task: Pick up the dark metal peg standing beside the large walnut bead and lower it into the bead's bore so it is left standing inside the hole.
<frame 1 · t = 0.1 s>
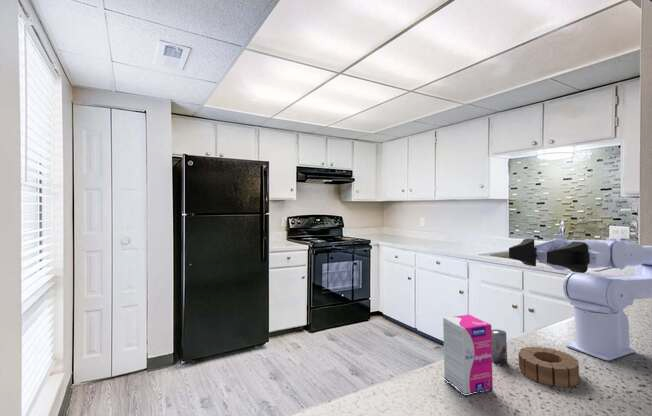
hand: (528, 255, 62), 22 cm above the countertop, tool horizontal, fingers open, 7 cm apart
supplement box: (468, 386, 57), on the countertop
metal peg: (499, 362, 65), on the countertop
walnut bead: (548, 373, 60), on the countertop
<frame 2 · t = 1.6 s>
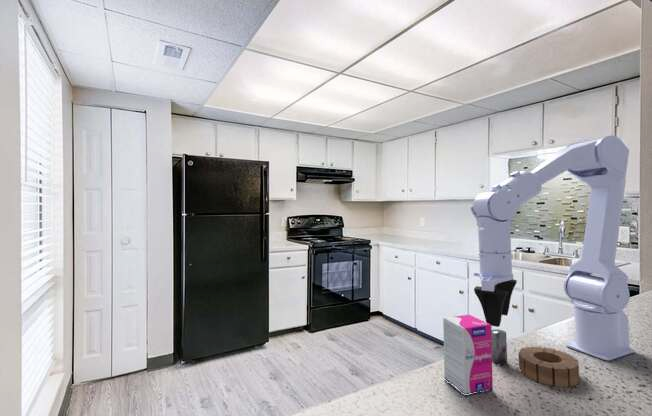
hand: (497, 319, 65), 8 cm above the countertop, tool pointing down, fingers open, 7 cm apart
nothing on the countertop moved.
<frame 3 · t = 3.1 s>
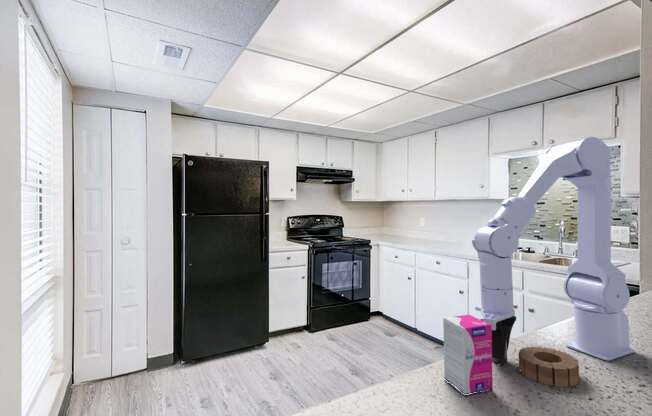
hand: (499, 354, 65), 1 cm above the countertop, tool pointing down, fingers closed on metal peg, 3 cm apart
metal peg: (499, 362, 65), on the countertop, touching gripper
everything else where it was.
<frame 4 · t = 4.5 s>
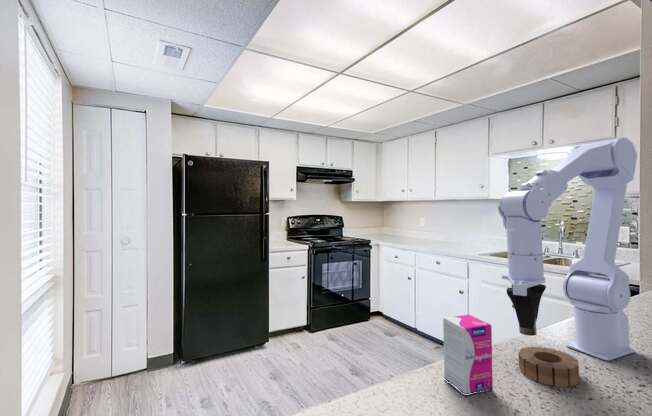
hand: (528, 325, 62), 8 cm above the countertop, tool pointing down, fingers closed on metal peg, 3 cm apart
metal peg: (527, 332, 62), point 7 cm above the countertop, touching gripper
everything else where it was.
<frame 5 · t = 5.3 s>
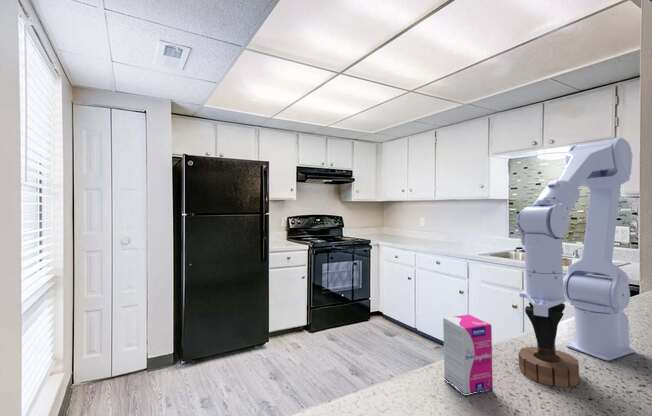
hand: (546, 344, 60), 5 cm above the countertop, tool pointing down, fingers closed on metal peg, 3 cm apart
metal peg: (546, 353, 60), point 4 cm above the countertop, touching gripper
everything else where it was.
when the fingers open (4 cm above the countertop, at t = 5.9 s): metal peg drops 2 cm, resting in walnut bead.
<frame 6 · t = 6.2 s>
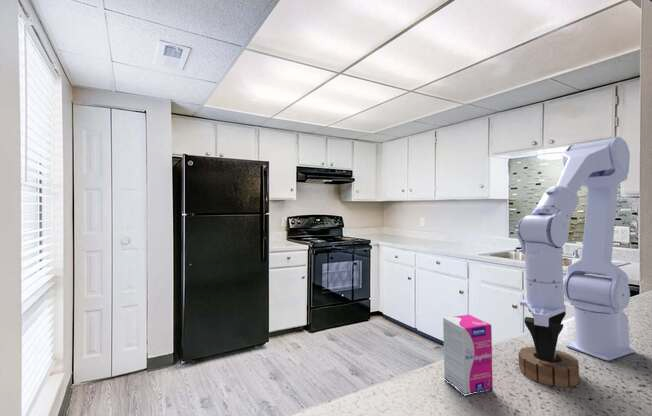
hand: (547, 353, 60), 4 cm above the countertop, tool pointing down, fingers open, 5 cm apart
metal peg: (547, 373, 60), resting in walnut bead
everything else where it was.
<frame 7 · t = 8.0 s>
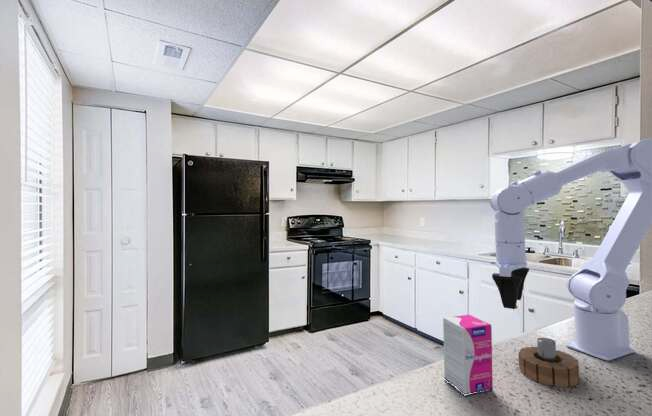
hand: (512, 303, 72), 9 cm above the countertop, tool pointing down, fingers open, 7 cm apart
nothing on the countertop moved.
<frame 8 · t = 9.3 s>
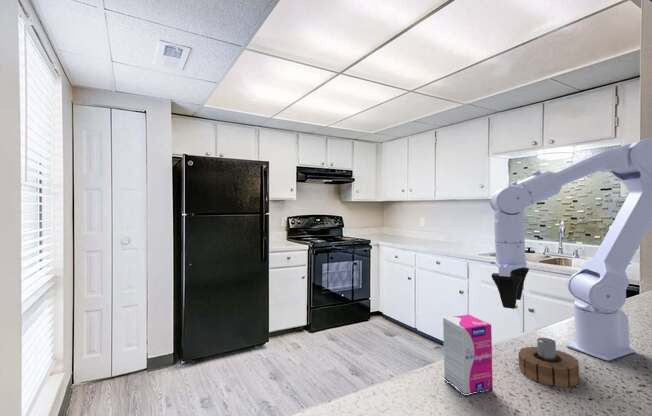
hand: (512, 303, 72), 9 cm above the countertop, tool pointing down, fingers open, 7 cm apart
nothing on the countertop moved.
at the end: metal peg 0.1 cm from the walnut bead (horizontally); metal peg resting in walnut bead; metal peg tilted 1° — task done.
